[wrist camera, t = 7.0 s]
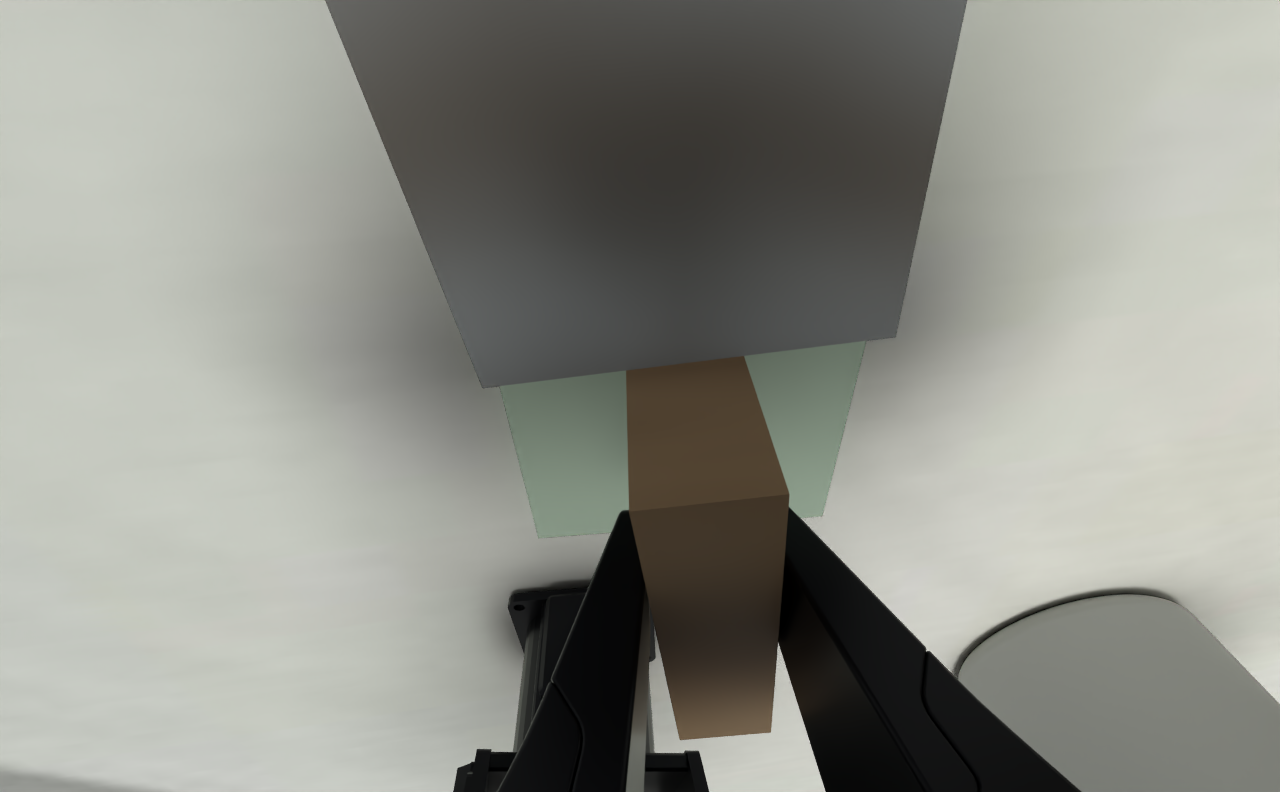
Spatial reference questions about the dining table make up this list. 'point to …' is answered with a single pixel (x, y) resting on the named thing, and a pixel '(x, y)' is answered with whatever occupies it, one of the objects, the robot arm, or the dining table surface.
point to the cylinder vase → (1130, 698)
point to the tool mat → (598, 448)
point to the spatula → (668, 244)
